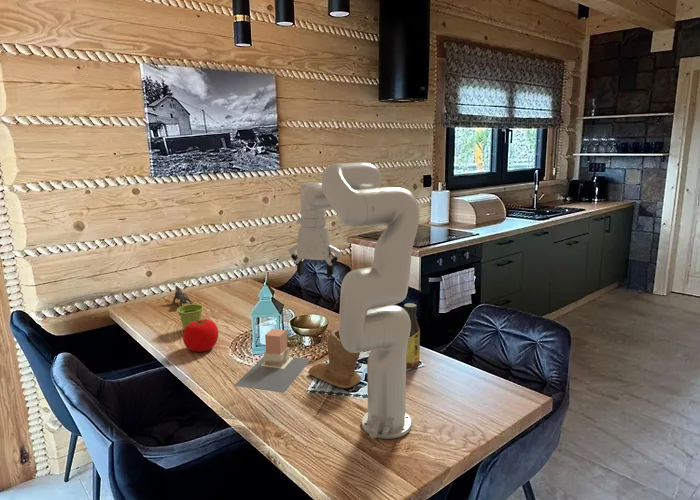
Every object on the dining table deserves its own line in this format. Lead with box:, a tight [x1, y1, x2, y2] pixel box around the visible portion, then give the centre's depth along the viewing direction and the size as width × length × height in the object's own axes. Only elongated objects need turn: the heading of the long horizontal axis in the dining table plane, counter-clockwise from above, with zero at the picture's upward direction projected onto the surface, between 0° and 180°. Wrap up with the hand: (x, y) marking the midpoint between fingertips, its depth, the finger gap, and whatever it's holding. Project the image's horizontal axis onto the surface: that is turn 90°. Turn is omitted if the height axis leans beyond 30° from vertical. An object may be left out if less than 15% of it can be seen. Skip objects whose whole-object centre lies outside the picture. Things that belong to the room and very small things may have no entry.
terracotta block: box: [264, 328, 288, 354], centre depth 158 cm, size 5×5×6 cm
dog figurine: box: [172, 286, 194, 308], centre depth 216 cm, size 12×6×7 cm, turn 39°
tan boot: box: [307, 329, 362, 389], centre depth 148 cm, size 15×12×15 cm
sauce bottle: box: [403, 302, 421, 369], centre depth 156 cm, size 7×6×20 cm
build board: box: [233, 356, 312, 394], centre depth 153 cm, size 22×16×1 cm
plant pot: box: [176, 303, 204, 330], centre depth 189 cm, size 9×9×9 cm
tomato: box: [182, 318, 219, 353], centre depth 172 cm, size 12×12×10 cm
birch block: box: [263, 346, 291, 367], centre depth 159 cm, size 6×6×4 cm
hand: (315, 275), depth 158 cm, fingers open, 9 cm apart
